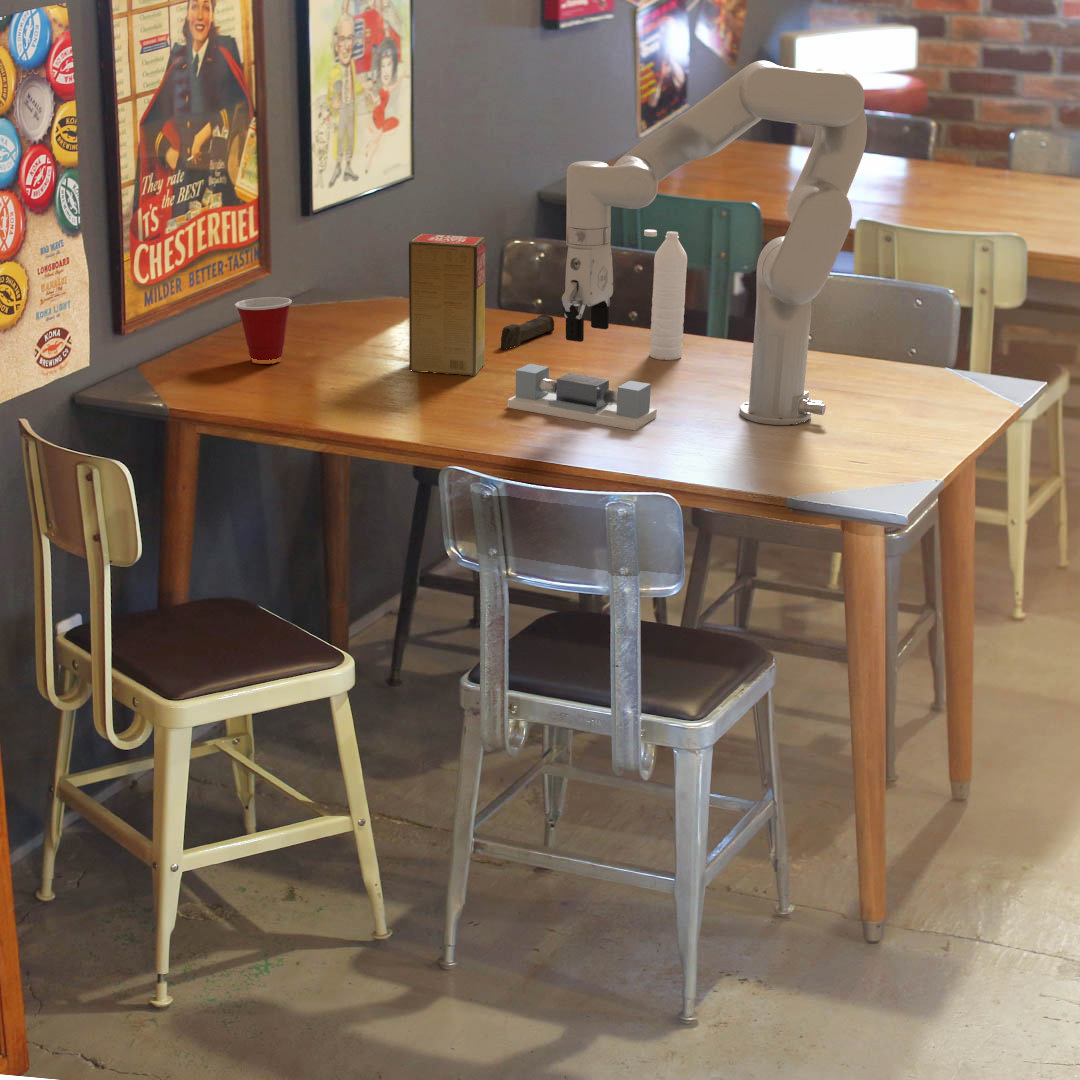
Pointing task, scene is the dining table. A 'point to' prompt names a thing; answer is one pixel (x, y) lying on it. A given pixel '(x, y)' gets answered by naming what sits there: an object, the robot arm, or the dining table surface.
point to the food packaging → (447, 304)
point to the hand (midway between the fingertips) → (587, 334)
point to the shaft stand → (622, 409)
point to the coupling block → (582, 390)
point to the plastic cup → (264, 325)
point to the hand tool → (526, 331)
